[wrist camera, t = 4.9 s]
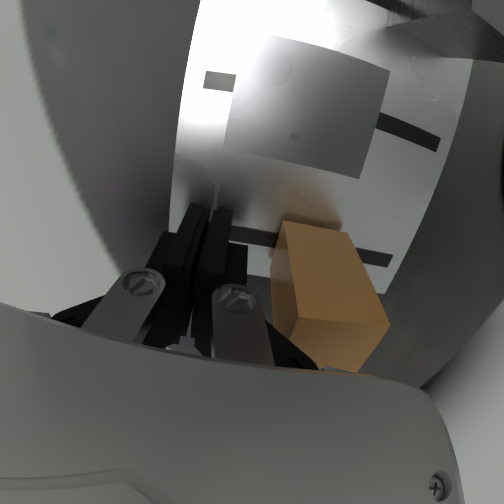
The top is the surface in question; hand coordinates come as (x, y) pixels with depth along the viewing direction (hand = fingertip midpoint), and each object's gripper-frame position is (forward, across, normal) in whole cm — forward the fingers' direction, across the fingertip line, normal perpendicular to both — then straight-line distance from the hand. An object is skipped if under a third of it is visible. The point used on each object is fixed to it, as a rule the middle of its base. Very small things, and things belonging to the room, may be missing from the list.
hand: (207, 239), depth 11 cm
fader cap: (+1, -4, 0) cm, 4 cm away
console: (+3, -4, -7) cm, 8 cm away
